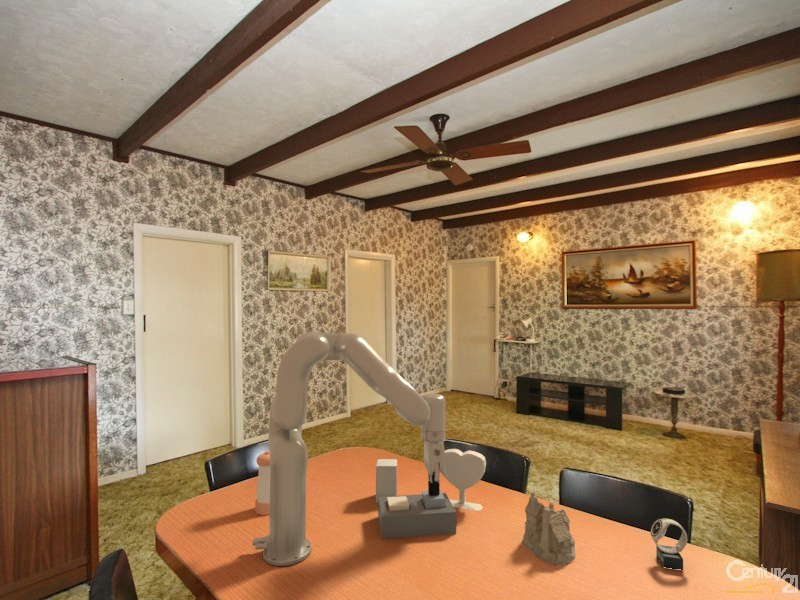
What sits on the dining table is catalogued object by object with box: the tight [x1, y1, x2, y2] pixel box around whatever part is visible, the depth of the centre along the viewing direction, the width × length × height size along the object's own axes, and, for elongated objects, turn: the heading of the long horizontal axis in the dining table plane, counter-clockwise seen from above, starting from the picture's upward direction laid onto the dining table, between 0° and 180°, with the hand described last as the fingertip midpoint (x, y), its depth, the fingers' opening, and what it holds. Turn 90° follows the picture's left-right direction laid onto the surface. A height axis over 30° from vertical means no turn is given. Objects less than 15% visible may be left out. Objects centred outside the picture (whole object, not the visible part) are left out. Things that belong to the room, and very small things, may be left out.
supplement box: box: [375, 458, 398, 504], centre depth 145 cm, size 7×7×13 cm
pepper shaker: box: [254, 450, 270, 516], centre depth 137 cm, size 7×7×19 cm
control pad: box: [377, 492, 457, 540], centre depth 127 cm, size 22×13×6 cm, turn 98°
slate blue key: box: [421, 489, 445, 509], centre depth 128 cm, size 6×6×5 cm
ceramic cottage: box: [522, 491, 576, 566], centre depth 116 cm, size 16×16×15 cm
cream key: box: [387, 495, 409, 511], centre depth 127 cm, size 6×6×5 cm
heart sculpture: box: [442, 448, 487, 512], centre depth 141 cm, size 16×5×18 cm, turn 70°
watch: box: [650, 518, 688, 571], centre depth 108 cm, size 6×8×11 cm
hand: (433, 494), depth 128 cm, fingers closed
